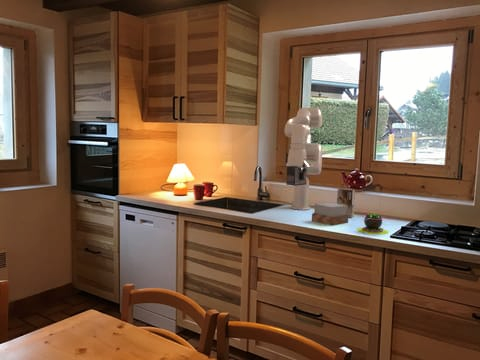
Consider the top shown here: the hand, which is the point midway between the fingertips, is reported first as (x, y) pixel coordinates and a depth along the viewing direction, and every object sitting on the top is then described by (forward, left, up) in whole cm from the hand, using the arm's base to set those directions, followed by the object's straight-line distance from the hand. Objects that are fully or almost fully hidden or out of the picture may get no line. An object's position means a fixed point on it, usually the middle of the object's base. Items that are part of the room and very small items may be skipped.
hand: (296, 178), depth 245 cm
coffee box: (+13, +31, -23) cm, 40 cm away
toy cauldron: (+44, +8, -23) cm, 50 cm away
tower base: (+17, +9, -23) cm, 30 cm away
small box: (0, 0, -3) cm, 3 cm away
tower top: (+17, +9, -18) cm, 26 cm away
